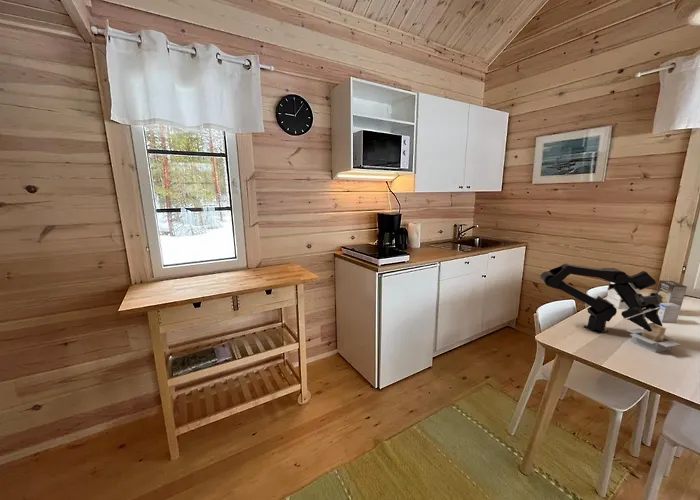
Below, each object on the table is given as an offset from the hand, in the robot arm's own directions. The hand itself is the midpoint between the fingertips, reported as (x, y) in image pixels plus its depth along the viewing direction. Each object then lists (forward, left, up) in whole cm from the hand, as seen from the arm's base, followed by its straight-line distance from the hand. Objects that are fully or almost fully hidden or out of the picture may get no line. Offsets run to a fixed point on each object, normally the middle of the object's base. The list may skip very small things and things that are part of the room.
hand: (656, 329), depth 119 cm
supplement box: (+36, +35, -8) cm, 51 cm away
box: (0, 0, -8) cm, 8 cm away
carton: (0, 0, -8) cm, 8 cm away
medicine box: (+37, +16, -8) cm, 41 cm away
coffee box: (+52, +24, -8) cm, 58 cm away
